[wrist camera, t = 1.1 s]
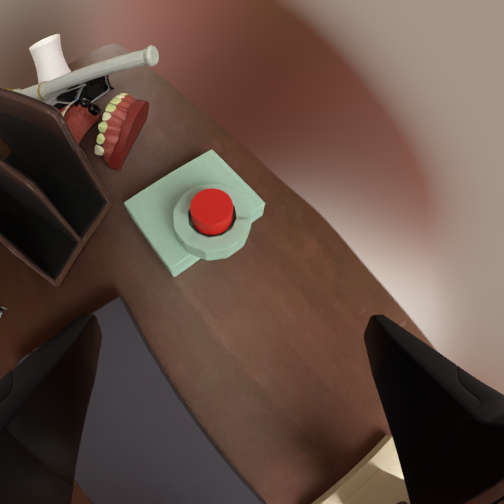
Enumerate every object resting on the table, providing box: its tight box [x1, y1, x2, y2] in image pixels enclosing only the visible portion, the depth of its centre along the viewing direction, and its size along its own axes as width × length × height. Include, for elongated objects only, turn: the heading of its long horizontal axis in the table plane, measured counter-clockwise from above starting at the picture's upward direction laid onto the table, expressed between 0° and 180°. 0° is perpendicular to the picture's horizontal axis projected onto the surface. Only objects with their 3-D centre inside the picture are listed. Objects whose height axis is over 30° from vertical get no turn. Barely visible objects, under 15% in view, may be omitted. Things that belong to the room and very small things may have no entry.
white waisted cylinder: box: [29, 34, 71, 104], centre depth 29 cm, size 8×8×10 cm
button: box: [190, 188, 233, 235], centre depth 23 cm, size 3×3×2 cm
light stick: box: [4, 46, 159, 101], centre depth 27 cm, size 7×6×30 cm
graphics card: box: [48, 75, 114, 110], centre depth 30 cm, size 12×3×5 cm, turn 142°
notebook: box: [17, 297, 266, 504], centre depth 18 cm, size 13×2×21 cm
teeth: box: [59, 93, 149, 170], centre depth 28 cm, size 8×6×12 cm
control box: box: [124, 150, 265, 277], centre depth 26 cm, size 10×10×4 cm
